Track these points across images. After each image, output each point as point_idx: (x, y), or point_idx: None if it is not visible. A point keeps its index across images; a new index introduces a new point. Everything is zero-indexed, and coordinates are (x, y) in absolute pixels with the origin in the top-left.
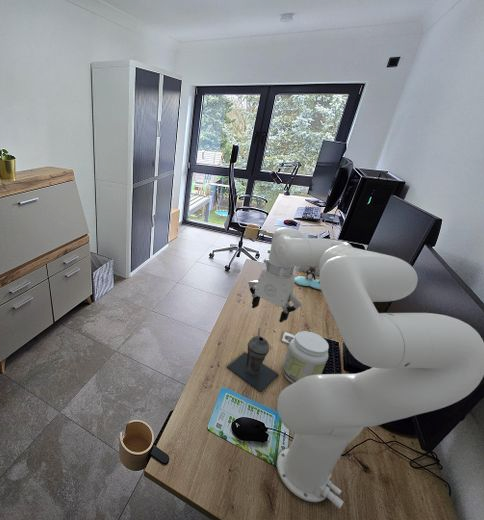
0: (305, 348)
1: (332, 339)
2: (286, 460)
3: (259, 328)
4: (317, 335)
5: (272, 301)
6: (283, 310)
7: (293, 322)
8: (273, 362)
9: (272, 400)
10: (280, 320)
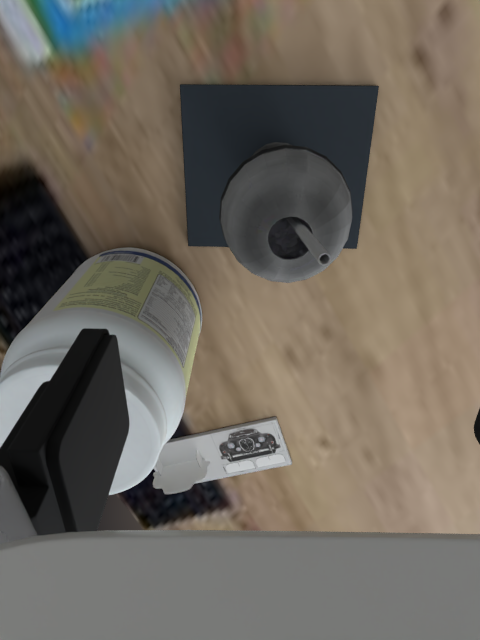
0: (54, 363)
1: (163, 529)
2: None
3: (324, 261)
4: None
5: (240, 591)
6: (15, 492)
7: (293, 522)
8: (238, 293)
9: (122, 88)
10: (89, 342)
